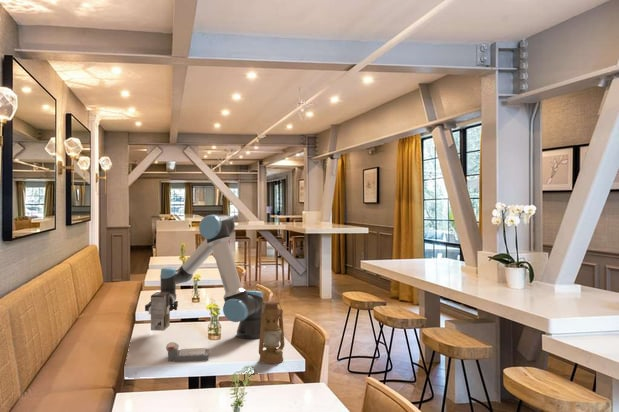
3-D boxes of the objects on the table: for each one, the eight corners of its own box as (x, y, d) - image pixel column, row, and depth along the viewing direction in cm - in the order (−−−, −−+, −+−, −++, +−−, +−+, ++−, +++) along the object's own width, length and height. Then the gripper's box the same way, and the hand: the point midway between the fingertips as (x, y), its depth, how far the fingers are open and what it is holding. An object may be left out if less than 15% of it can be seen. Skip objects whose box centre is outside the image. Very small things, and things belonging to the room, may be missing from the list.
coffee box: (156, 325, 239) (156, 291, 239) (170, 326, 239) (170, 291, 239) (150, 330, 230) (150, 295, 230) (164, 330, 230) (164, 295, 230)
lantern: (274, 367, 209) (274, 295, 209) (252, 364, 213) (252, 293, 213) (289, 357, 223) (289, 289, 223) (268, 354, 227) (268, 287, 227)
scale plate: (205, 349, 227) (205, 347, 227) (204, 355, 218) (204, 353, 218) (180, 350, 226) (180, 348, 226) (178, 356, 217) (178, 354, 217)
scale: (209, 353, 228) (209, 336, 228) (208, 360, 218) (208, 342, 218) (168, 355, 225) (168, 338, 225) (165, 362, 216) (165, 344, 215)
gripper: (186, 308, 254) (181, 318, 231) (144, 309, 251) (135, 320, 228) (186, 293, 254) (181, 302, 231) (144, 294, 251) (135, 303, 228)
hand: (158, 311), depth 230 cm, fingers closed on coffee box, 7 cm apart
